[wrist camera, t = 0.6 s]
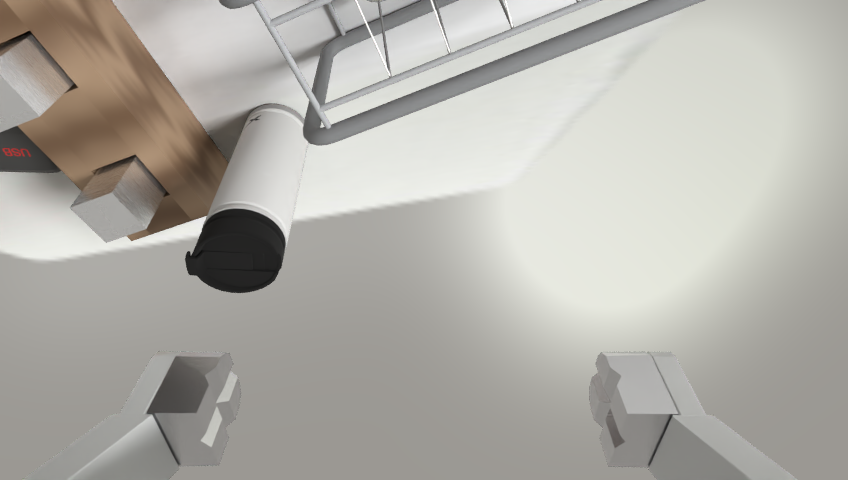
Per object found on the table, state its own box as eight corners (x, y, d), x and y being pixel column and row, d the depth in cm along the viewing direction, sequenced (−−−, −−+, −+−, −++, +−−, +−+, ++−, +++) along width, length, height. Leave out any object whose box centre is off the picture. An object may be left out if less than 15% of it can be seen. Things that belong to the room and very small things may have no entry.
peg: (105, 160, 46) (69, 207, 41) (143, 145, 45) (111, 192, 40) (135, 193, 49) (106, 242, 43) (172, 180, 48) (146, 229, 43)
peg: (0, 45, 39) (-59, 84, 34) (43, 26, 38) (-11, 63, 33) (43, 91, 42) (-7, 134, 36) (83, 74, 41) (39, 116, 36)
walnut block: (-20, -12, 42) (-87, 21, 36) (71, -55, 40) (17, -28, 34) (158, 192, 56) (131, 241, 50) (231, 166, 54) (212, 213, 48)
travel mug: (240, 98, 49) (178, 232, 34) (310, 106, 50) (279, 241, 35) (244, 153, 53) (189, 296, 38) (309, 160, 54) (280, 302, 39)
